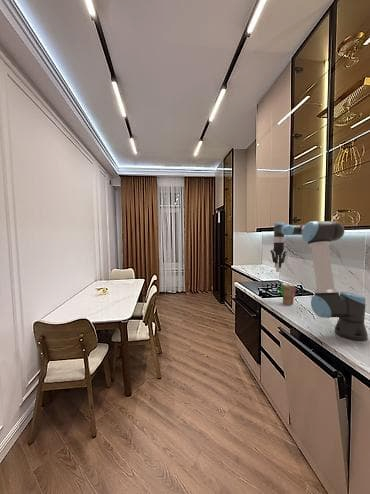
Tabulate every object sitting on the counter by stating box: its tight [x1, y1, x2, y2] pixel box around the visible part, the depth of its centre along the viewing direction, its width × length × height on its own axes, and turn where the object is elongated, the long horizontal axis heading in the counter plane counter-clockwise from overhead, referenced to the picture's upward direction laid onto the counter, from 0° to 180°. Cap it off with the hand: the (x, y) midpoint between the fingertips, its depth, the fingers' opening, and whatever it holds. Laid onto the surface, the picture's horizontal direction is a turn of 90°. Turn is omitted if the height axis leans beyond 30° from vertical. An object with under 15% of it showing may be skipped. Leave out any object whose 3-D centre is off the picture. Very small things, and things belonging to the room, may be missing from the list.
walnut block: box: [282, 285, 295, 307], centre depth 186 cm, size 7×5×14 cm
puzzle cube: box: [280, 282, 296, 298], centre depth 211 cm, size 10×10×10 cm
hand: (278, 271), depth 191 cm, fingers closed
